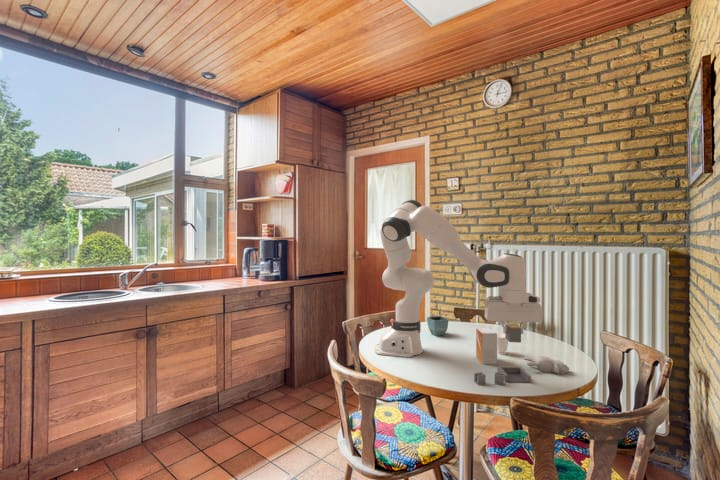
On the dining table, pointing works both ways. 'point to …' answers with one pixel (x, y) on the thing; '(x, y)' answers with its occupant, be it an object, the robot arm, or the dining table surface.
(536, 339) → the dining table surface
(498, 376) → the clip
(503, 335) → the cup
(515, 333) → the connector
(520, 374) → the end holder
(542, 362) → the bunny figurine
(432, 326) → the flower pot
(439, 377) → the dining table surface
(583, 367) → the dining table surface
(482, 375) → the clip
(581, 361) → the dining table surface
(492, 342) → the small box
